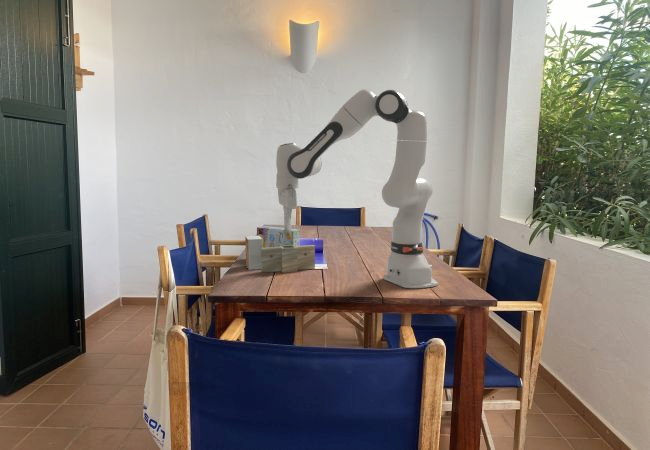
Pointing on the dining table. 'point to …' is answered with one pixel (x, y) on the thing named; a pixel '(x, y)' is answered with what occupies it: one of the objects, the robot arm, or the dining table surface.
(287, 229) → the hinge pin
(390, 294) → the dining table surface
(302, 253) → the hinge
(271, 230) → the snack box
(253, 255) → the small box
